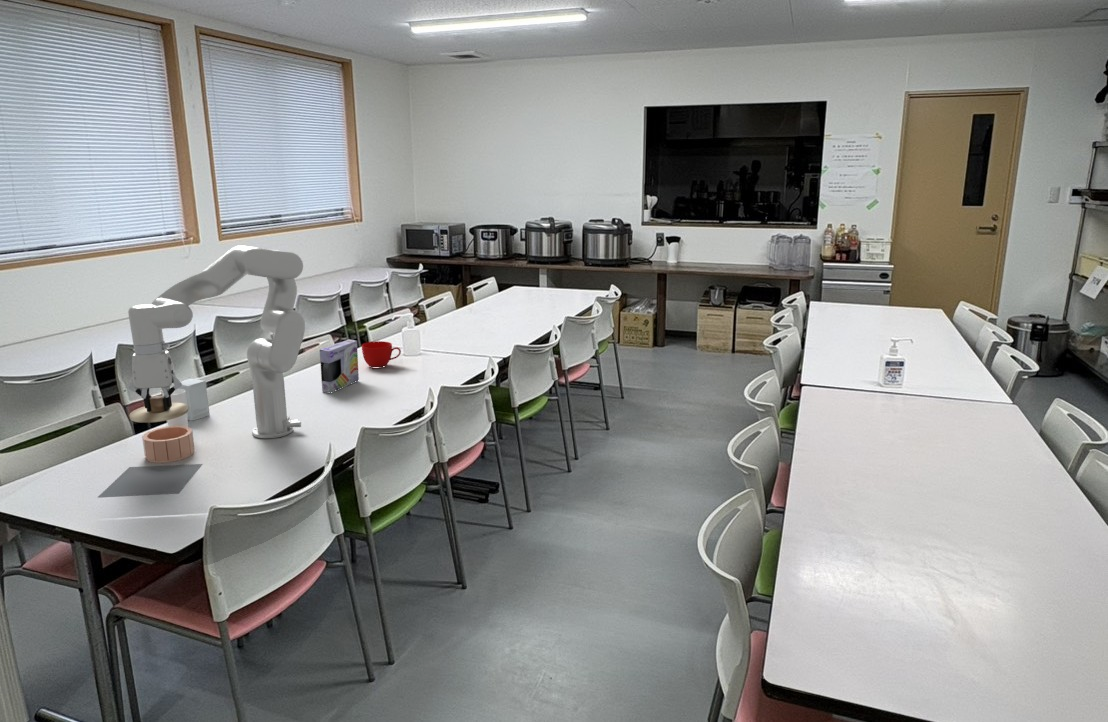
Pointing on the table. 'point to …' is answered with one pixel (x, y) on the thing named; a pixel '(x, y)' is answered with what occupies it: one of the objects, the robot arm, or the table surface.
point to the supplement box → (196, 398)
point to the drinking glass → (179, 397)
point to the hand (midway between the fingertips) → (159, 409)
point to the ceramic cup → (378, 353)
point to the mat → (151, 480)
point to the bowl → (168, 444)
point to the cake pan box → (339, 365)
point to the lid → (158, 411)
